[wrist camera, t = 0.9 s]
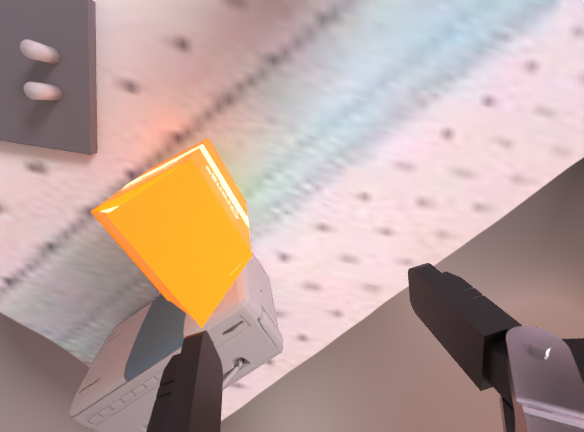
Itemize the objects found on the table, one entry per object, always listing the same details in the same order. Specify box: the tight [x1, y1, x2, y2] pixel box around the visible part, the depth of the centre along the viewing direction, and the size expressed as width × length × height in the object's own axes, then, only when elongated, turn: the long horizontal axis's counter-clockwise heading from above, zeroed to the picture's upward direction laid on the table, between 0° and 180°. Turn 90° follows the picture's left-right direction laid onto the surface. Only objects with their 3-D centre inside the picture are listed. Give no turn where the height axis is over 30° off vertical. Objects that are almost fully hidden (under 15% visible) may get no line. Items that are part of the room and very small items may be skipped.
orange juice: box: [91, 139, 253, 328], centre depth 25 cm, size 8×9×20 cm
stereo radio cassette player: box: [69, 252, 283, 432], centre depth 30 cm, size 21×8×20 cm, turn 122°
